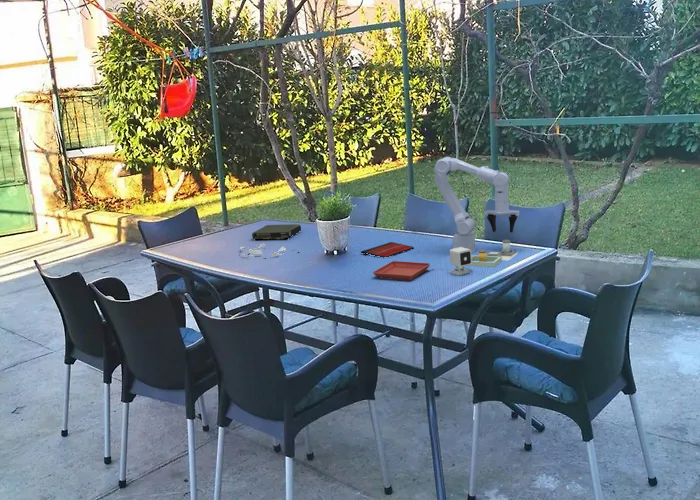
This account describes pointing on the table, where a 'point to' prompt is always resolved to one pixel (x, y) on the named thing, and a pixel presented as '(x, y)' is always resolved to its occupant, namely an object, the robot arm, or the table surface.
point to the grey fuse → (506, 246)
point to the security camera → (460, 260)
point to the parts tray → (495, 262)
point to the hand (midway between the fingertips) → (502, 231)
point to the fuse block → (503, 255)
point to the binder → (387, 249)
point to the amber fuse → (482, 255)
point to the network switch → (276, 231)
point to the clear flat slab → (261, 252)
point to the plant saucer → (401, 270)
